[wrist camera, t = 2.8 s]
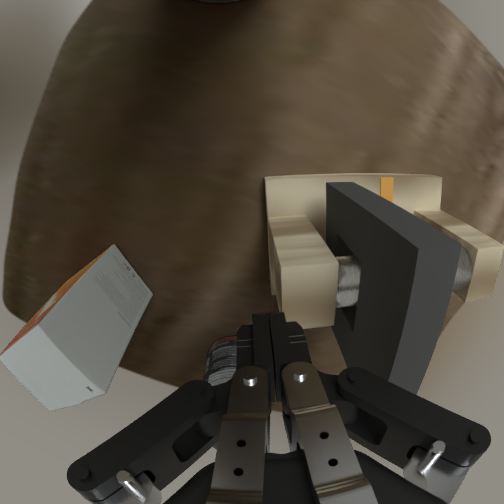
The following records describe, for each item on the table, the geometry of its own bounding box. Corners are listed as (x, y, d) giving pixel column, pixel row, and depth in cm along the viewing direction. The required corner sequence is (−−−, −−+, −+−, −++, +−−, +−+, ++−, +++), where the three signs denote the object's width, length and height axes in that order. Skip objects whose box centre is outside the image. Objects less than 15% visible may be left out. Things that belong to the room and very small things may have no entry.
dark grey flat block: (325, 182, 20) (418, 248, 9) (352, 181, 20) (461, 244, 9) (323, 306, 24) (370, 429, 12) (346, 303, 24) (404, 420, 12)
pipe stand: (264, 176, 24) (279, 210, 14) (433, 174, 24) (514, 205, 14) (270, 286, 27) (283, 370, 17) (422, 271, 27) (482, 330, 17)
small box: (114, 241, 25) (37, 322, 13) (155, 294, 28) (108, 396, 15) (65, 279, 27) (-4, 357, 15) (102, 324, 29) (52, 414, 17)
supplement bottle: (265, 371, 32) (272, 457, 21) (212, 374, 32) (204, 459, 21) (261, 330, 29) (269, 422, 19) (202, 334, 29) (188, 425, 19)
